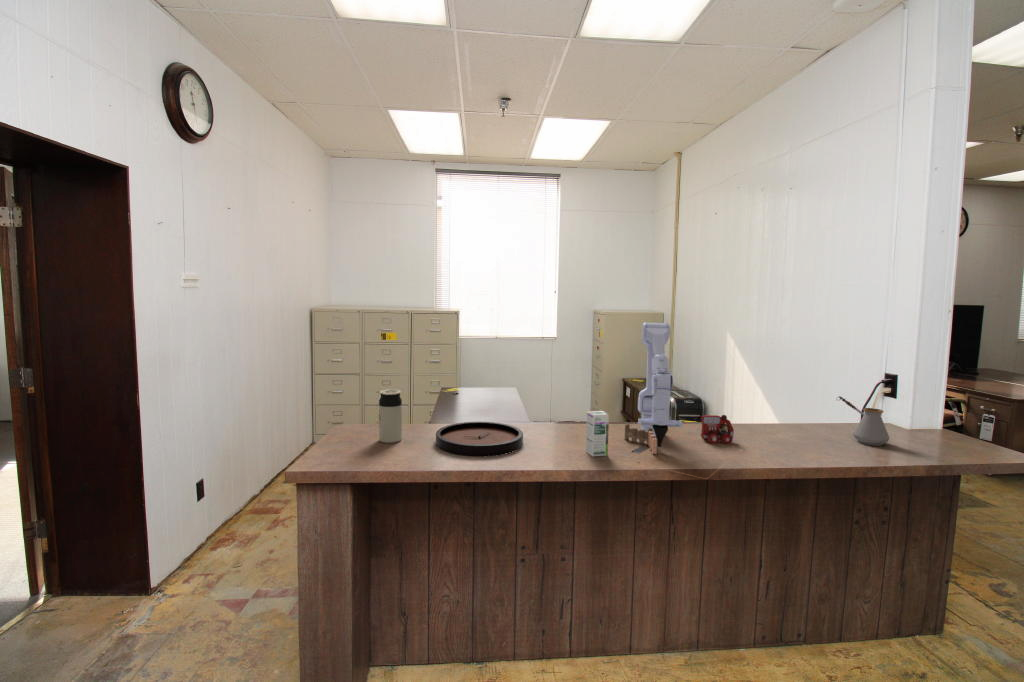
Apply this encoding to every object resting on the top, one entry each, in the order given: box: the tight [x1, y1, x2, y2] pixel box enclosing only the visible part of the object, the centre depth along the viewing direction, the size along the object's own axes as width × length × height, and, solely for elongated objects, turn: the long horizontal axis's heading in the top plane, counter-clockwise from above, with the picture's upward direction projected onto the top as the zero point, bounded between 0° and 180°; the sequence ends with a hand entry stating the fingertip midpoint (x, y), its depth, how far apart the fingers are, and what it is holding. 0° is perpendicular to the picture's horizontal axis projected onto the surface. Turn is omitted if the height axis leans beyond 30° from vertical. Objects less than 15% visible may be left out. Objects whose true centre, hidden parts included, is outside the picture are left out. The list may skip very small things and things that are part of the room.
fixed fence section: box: [624, 423, 653, 446], centre depth 187 cm, size 2×11×6 cm, turn 51°
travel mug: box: [378, 389, 403, 444], centre depth 184 cm, size 8×8×18 cm
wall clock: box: [435, 421, 524, 458], centre depth 184 cm, size 31×4×31 cm
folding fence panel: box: [648, 431, 658, 455], centre depth 178 cm, size 10×1×5 cm, turn 173°
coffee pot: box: [836, 396, 890, 447], centre depth 199 cm, size 21×12×15 cm, turn 14°
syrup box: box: [585, 410, 610, 458], centre depth 174 cm, size 6×6×14 cm
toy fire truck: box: [700, 414, 735, 445], centre depth 191 cm, size 7×12×10 cm, turn 94°
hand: (658, 446), depth 176 cm, fingers closed
